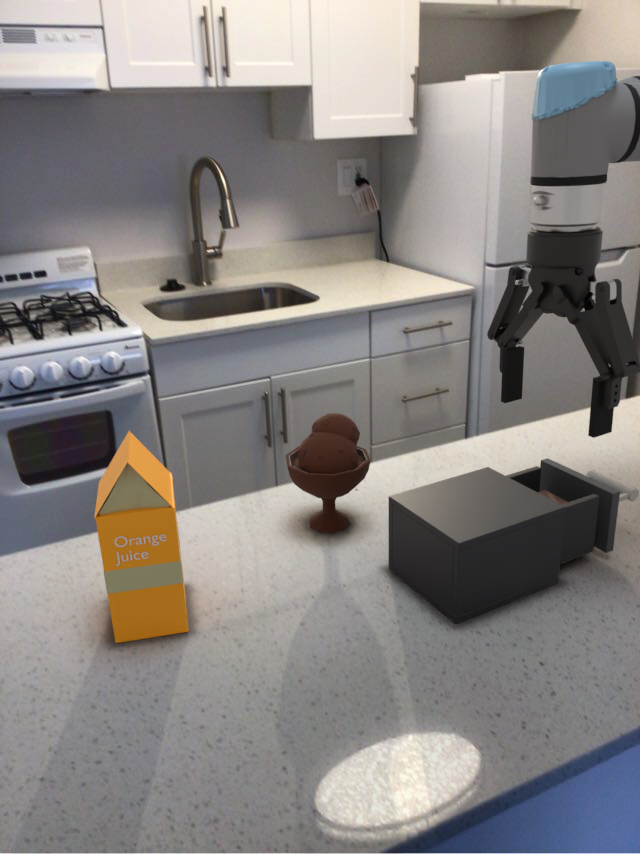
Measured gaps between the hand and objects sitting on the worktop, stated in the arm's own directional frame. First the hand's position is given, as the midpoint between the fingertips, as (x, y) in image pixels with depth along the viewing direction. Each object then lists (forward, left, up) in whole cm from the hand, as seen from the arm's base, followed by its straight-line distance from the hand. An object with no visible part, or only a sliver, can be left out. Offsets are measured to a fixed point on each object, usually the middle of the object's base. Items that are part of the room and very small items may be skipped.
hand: (552, 416), depth 87 cm
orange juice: (+46, +11, -17) cm, 50 cm away
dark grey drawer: (-2, 0, -16) cm, 16 cm away
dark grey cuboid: (+10, +6, -17) cm, 21 cm away
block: (+2, +2, -13) cm, 13 cm away
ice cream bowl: (+26, -8, -17) cm, 32 cm away
